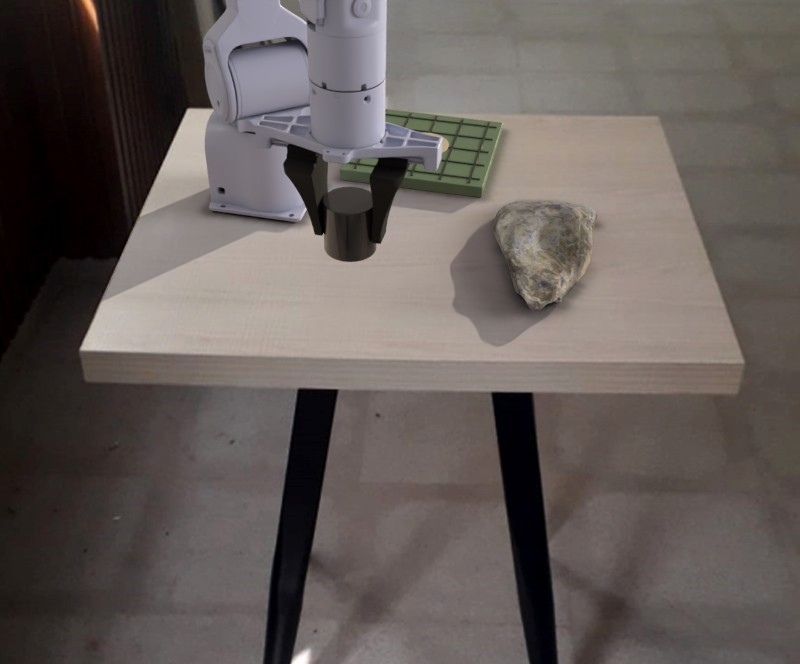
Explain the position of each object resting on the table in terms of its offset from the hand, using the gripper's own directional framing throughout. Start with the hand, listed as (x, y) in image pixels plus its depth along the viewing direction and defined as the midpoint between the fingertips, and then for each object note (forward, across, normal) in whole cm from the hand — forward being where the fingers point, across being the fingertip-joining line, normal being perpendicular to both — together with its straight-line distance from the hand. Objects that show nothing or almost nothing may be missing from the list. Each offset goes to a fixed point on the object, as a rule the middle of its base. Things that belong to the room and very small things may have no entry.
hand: (349, 233), depth 80 cm
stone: (+7, +16, +11) cm, 20 cm away
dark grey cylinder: (+1, 0, 0) cm, 1 cm away
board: (+7, +1, +28) cm, 29 cm away
